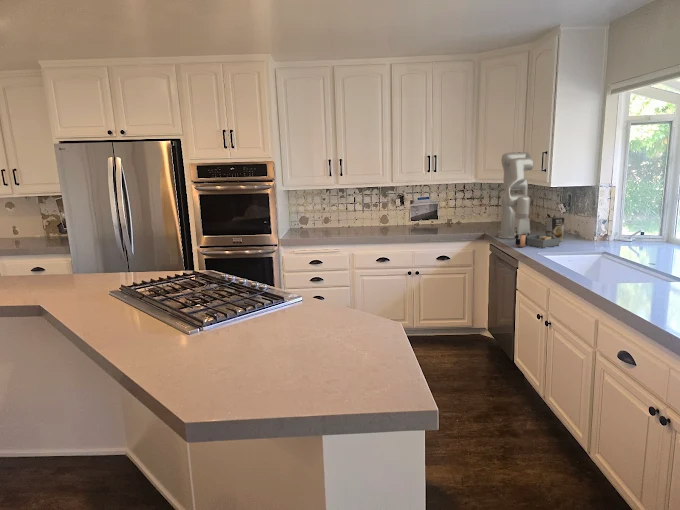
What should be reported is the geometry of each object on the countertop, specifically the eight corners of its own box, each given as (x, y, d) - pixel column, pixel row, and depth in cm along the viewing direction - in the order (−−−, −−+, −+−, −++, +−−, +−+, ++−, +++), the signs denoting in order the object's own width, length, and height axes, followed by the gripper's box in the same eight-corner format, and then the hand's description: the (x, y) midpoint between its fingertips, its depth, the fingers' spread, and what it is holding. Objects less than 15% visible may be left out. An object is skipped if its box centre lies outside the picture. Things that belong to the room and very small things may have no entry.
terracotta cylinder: (515, 245, 290) (515, 234, 288) (520, 244, 292) (521, 233, 290) (521, 246, 285) (521, 235, 284) (526, 245, 287) (527, 235, 286)
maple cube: (538, 244, 291) (539, 236, 290) (544, 243, 293) (545, 236, 292) (544, 245, 286) (545, 238, 285) (550, 244, 288) (551, 237, 287)
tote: (520, 244, 299) (521, 236, 297) (536, 241, 304) (536, 234, 303) (543, 248, 282) (543, 240, 281) (558, 246, 288) (559, 238, 287)
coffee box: (551, 242, 300) (553, 218, 296) (545, 240, 306) (546, 217, 303) (563, 241, 302) (565, 217, 299) (556, 239, 308) (557, 216, 305)
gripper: (527, 214, 291) (526, 241, 295) (507, 216, 284) (506, 244, 288) (537, 215, 284) (535, 243, 288) (516, 218, 277) (515, 247, 282)
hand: (521, 244), depth 288 cm, fingers closed on terracotta cylinder, 5 cm apart
